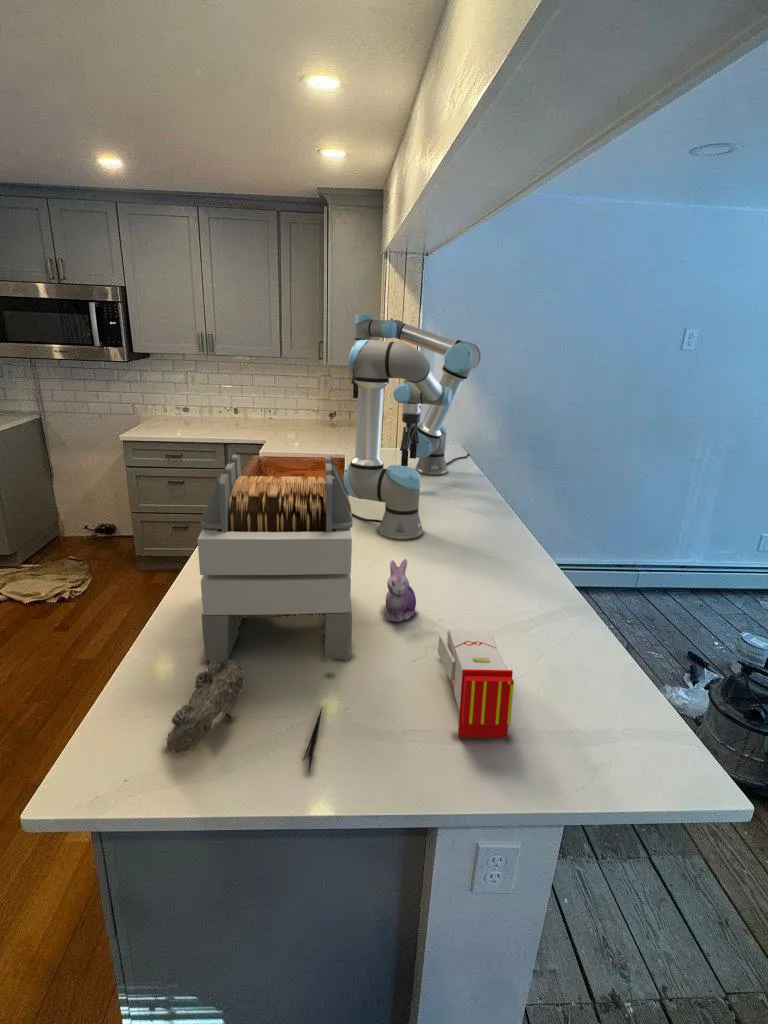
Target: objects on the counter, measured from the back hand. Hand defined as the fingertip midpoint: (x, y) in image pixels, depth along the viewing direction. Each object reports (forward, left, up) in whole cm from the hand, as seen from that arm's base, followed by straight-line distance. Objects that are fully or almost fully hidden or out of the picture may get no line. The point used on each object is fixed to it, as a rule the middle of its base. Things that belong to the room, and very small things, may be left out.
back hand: (360, 396), depth 268 cm
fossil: (+176, +54, -35) cm, 187 cm away
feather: (+167, +73, -35) cm, 186 cm away
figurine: (+123, +72, -35) cm, 147 cm away
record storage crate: (+141, +47, -35) cm, 152 cm away
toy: (+146, +96, -35) cm, 178 cm away
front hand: (+22, +34, -22) cm, 46 cm away
